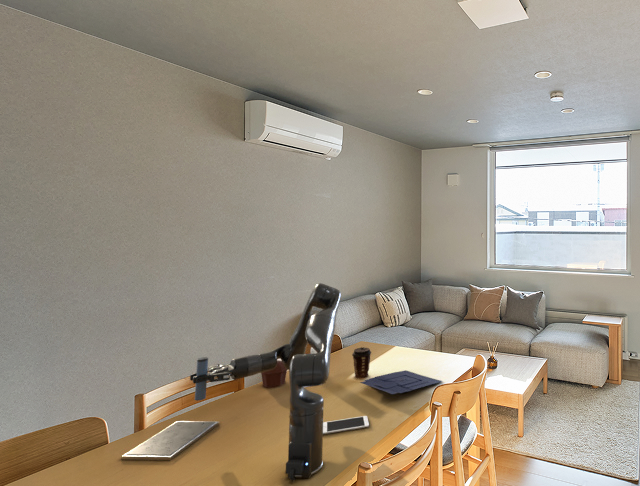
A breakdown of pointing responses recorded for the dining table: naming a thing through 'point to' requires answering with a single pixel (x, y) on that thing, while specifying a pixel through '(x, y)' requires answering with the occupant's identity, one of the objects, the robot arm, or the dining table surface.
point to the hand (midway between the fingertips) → (192, 378)
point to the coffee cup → (361, 362)
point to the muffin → (274, 376)
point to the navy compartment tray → (399, 382)
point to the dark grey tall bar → (201, 386)
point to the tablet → (170, 441)
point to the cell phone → (345, 424)
